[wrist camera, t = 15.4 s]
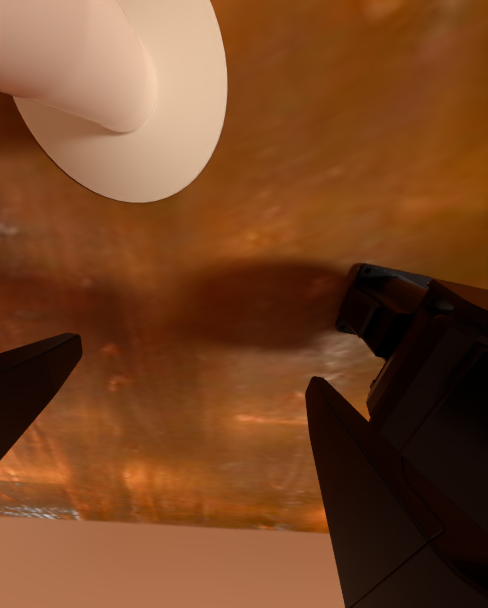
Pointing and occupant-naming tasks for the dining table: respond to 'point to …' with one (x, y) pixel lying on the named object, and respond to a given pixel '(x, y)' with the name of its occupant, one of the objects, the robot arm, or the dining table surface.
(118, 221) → the dining table surface
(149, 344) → the dining table surface
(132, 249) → the dining table surface
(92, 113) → the drinking glass
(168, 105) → the cream flat disc
